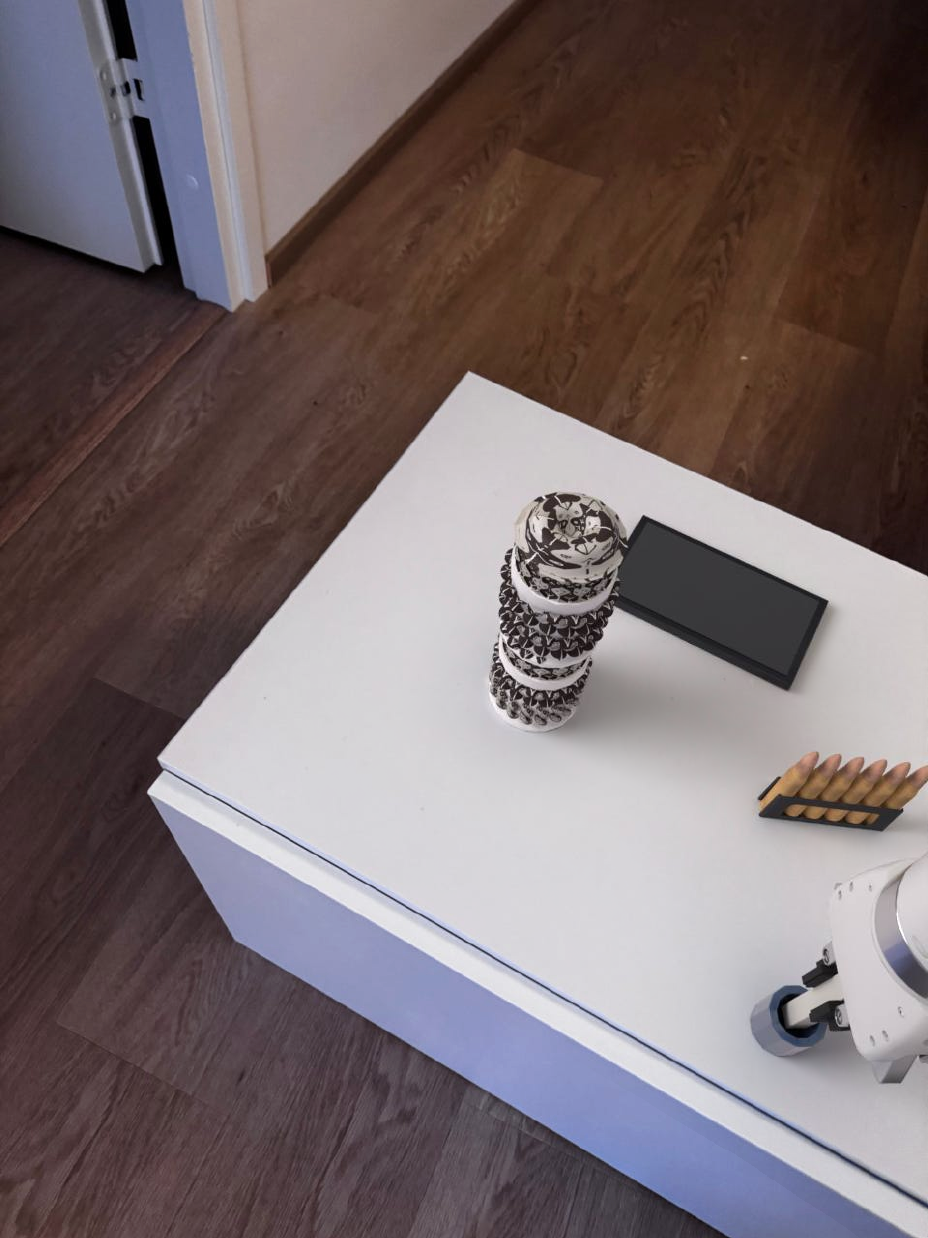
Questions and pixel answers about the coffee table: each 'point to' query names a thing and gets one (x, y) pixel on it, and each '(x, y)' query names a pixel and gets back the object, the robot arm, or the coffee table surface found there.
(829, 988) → the stylus
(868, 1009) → the robot arm
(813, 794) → the ammunition clip
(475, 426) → the coffee table surface
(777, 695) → the coffee table surface
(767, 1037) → the holder
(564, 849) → the coffee table surface
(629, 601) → the tablet
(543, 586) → the decorative candle
